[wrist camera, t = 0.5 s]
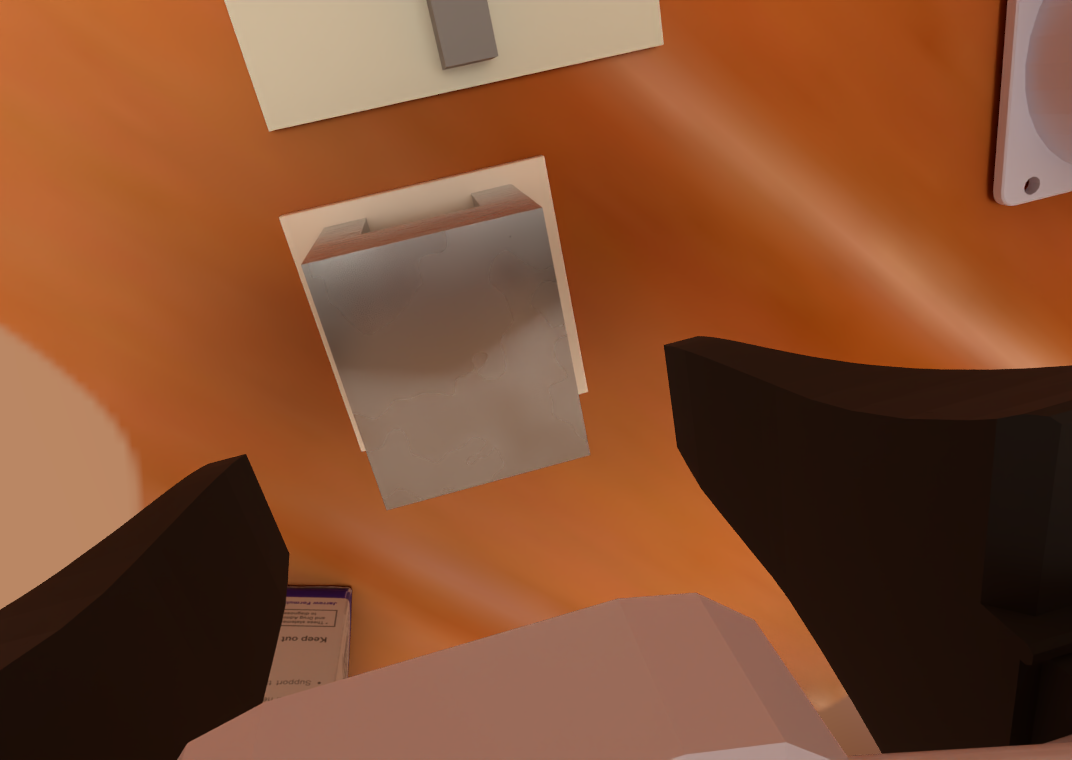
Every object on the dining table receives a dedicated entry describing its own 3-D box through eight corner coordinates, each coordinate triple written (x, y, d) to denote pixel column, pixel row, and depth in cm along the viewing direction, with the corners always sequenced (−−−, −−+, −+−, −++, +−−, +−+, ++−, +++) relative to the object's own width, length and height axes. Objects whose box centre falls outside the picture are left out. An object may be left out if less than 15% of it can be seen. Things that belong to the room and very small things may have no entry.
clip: (511, 183, 18) (542, 207, 14) (553, 385, 20) (590, 454, 16) (324, 227, 18) (300, 265, 14) (389, 428, 20) (386, 510, 16)
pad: (541, 154, 18) (543, 156, 18) (585, 386, 21) (587, 391, 21) (281, 215, 18) (278, 217, 17) (362, 445, 20) (361, 451, 20)
